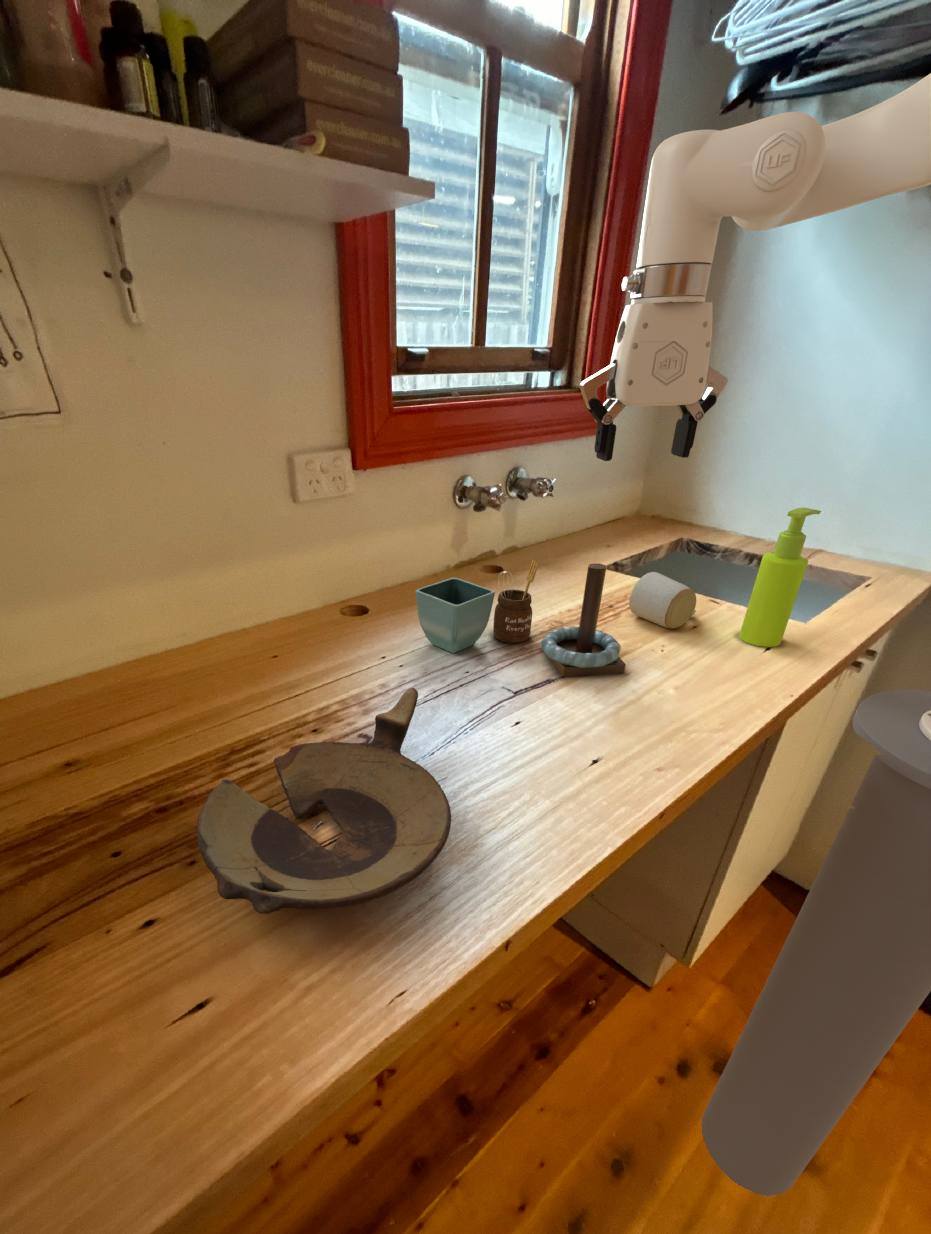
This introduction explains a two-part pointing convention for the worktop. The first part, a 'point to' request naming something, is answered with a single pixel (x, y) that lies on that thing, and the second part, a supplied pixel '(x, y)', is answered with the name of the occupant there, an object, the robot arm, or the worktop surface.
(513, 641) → the utensil holder
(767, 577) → the soap dispenser
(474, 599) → the flower pot
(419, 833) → the oil lamp
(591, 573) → the peg stand
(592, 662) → the ring
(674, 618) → the ceramic mug
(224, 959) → the worktop surface
